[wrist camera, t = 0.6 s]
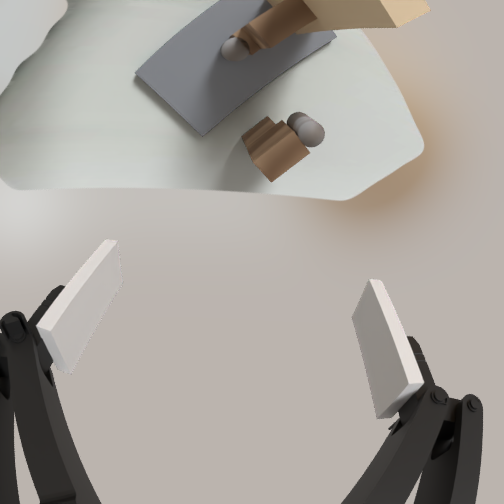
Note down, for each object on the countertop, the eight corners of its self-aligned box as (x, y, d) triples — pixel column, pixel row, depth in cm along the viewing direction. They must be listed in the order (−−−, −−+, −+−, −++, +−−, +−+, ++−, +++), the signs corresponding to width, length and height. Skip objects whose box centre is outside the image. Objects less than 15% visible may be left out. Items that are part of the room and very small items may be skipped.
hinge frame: (136, 72, 33) (56, 102, 14) (275, -33, 25) (356, -102, 6) (202, 134, 41) (203, 228, 21) (333, 36, 33) (456, 45, 14)
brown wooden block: (241, 136, 42) (252, 162, 33) (289, 99, 39) (314, 115, 31) (256, 152, 44) (271, 182, 35) (302, 117, 41) (330, 138, 33)
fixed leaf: (214, 48, 32) (218, 45, 23) (272, 7, 29) (296, -7, 20) (231, 66, 34) (241, 70, 25) (289, 25, 31) (317, 18, 22)
